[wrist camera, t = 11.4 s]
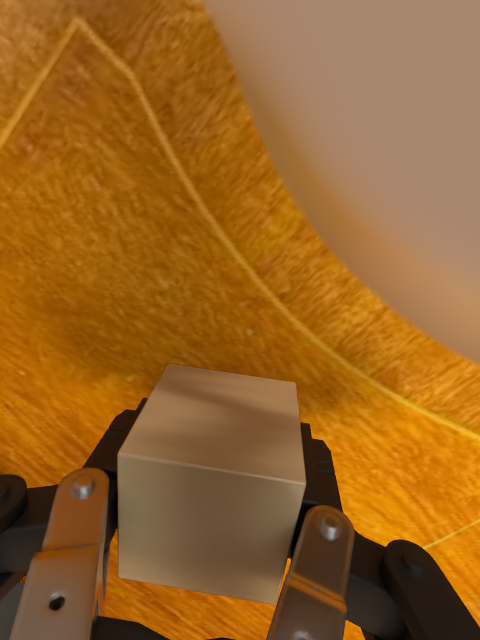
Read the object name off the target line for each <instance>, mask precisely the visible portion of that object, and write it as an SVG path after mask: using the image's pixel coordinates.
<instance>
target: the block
mask: <svg viewBox="0 0 480 640" xmlns="http://www.w3.org/2000/svg"><path fill="white" fill-rule="evenodd" d="M117 463H118V577H119V578H123V579H128V580H134V581H140V582H146V583H151V584H157V585H163V586H169V587H175V588H180V589H186V590H192V591H198V592H204V593H209V594H215V595H221V596H227V597H233V598H238V599H244V600H250V601H256V602H262V603H267V604H273V605H274V604H276V602H277V599H278V595H279V591H280V587H281V583H282V579H283V575H284V571H285V567H286V563H287V559H288V555H289V551H290V547H291V543H292V539H293V535H294V531H295V527H296V523H297V519H298V515H299V511H300V507H301V503H302V499H303V495H304V491H305V487H306V476H305V466H304V456H303V447H302V437H301V427H300V417H299V408H298V398H297V388H296V383H294V382H288V381H282V380H275V379H269V378H262V377H255V376H249V375H242V374H236V373H229V372H222V371H216V370H209V369H203V368H196V367H189V366H183V365H176V364H167V366H166V368H165V370H164V371H163V373H162V375H161V377H160V378H159V380H158V382H157V384H156V386H155V387H154V389H153V391H152V393H151V395H150V396H149V398H148V400H147V402H146V404H145V405H144V407H143V409H142V411H141V412H140V414H139V416H138V418H137V420H136V421H135V423H134V425H133V427H132V429H131V430H130V432H129V434H128V436H127V438H126V439H125V441H124V443H123V445H122V446H121V448H120V450H119V452H118V454H117Z"/></svg>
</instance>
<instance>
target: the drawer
mask: <svg viewBox="0 0 480 640" xmlns="http://www.w3.org/2000/svg"><path fill="white" fill-rule="evenodd" d="M24 585H25V584H22V583H17V584H16V585H15V586H14V587H13V588H12V589H11V590H10V591H9V592H8V593H7V594H6V596H5V597H4V598H3V599H2V600H1V601H0V640H9V639H10V635H11V631H12V628H13V624H14V621H15V617H16V613H17V610H18V606H19V603H20V599H21V596H22V592H23V588H24Z"/></svg>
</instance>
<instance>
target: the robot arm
mask: <svg viewBox="0 0 480 640" xmlns="http://www.w3.org/2000/svg"><path fill="white" fill-rule="evenodd" d="M147 400H148V398H143V399H142V401H141V403H140V404H139V406H138V408H137V409H136V411H134V410H128V409H126V410H125V411H123V412H122V413H121V414H119V415H118V416H116V417H115V418H114V420H113V422H112V423H111V425H110V426H109V429H107V431H106V432H105V434H104V435H103V438H102V439H101V440H100V442H99V443H98V445H97V446H96V448H95V449H94V451H93V452H92V454H91V456H90V457H89V459H88V460H87V462H86V463H85V465H84V466H83V468H81V469H78V470H75V471H73V472H71V473H69V474H68V475H66V476H65V477H64V478H63V479H62V480H61V481H60V483H59V484H57V485H53V486H45V487H36V488H27V485H26V482H25V480H24V479H23V478H21V477H19V476H16V475H0V601H1V600H2V599H3V598H4V597H5V596H6V594H7V593H8V592H9V591H10V590H11V589H12V588H13V587H14V586H15V585H16V584H17V583H18V582H19V580H20V579H21V578H22V577H23V576H24V575H25V574H26V573H27V572H28V574H27V578H26V581H25V585H24V588H23V592H22V596H21V599H20V603H19V606H18V610H17V613H16V617H15V621H14V624H13V628H12V631H11V635H10V639H9V640H170V639H168V638H166V637H164V636H162V635H160V634H159V633H157V632H155V631H153V630H151V629H149V628H147V627H145V626H144V625H142V624H140V623H137V622H132V621H126V620H120V619H115V618H109V617H104V615H105V602H106V591H107V579H108V568H109V556H110V542H111V540H112V538H113V535H114V533H115V531H116V529H118V463H117V454H118V452H119V450H120V448H121V446H122V445H123V443H124V441H125V439H126V438H127V436H128V434H129V432H130V430H131V429H132V427H133V425H134V423H135V421H136V420H137V418H138V416H139V414H140V412H141V411H142V409H143V407H144V405H145V404H146V402H147ZM300 427H301V437H302V447H303V456H304V466H305V476H306V487H305V491H304V495H303V499H302V503H301V507H300V511H299V515H298V519H297V523H296V527H295V531H294V535H293V539H292V543H291V547H290V551H289V555H288V558H291V564H290V567H289V570H288V573H287V575H286V578H285V580H284V584H283V587H282V590H281V593H280V596H279V600H278V603H277V606H276V609H275V612H274V615H273V619H272V622H271V625H270V628H269V631H268V635H267V638H266V640H343V635H344V628H345V621H346V620H348V621H350V622H352V623H354V624H355V625H357V626H359V627H361V630H362V633H363V635H364V637H365V640H480V627H479V626H478V624H477V623H476V621H475V620H474V618H473V617H472V615H471V614H470V612H469V611H468V609H467V608H466V606H465V605H464V604H463V602H462V601H461V599H460V598H459V596H458V595H457V593H456V592H455V590H454V589H453V587H452V586H451V584H450V583H449V581H448V580H447V578H446V577H445V575H444V574H443V572H442V571H441V569H440V568H439V566H438V565H437V563H436V562H435V560H434V559H433V558H432V557H431V555H430V554H429V553H428V552H426V551H425V550H424V549H423V548H421V547H420V546H418V545H416V544H415V543H412V542H410V541H407V540H394V541H391V542H390V543H389V544H388V545H387V546H386V547H384V546H382V545H380V544H378V543H376V542H373V541H371V540H369V539H367V538H365V537H363V536H362V535H360V534H359V533H358V532H356V531H355V530H354V528H353V525H352V523H351V521H350V520H349V519H348V518H347V516H346V515H345V514H343V510H342V505H341V500H340V495H339V491H338V486H337V481H336V476H335V471H334V466H333V461H332V456H331V451H330V450H329V448H328V447H327V446H326V444H325V443H324V441H323V440H318V439H312V436H311V429H310V424H308V423H302V422H300ZM207 640H234V639H229V638H223V637H222V638H215V639H207Z"/></svg>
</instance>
